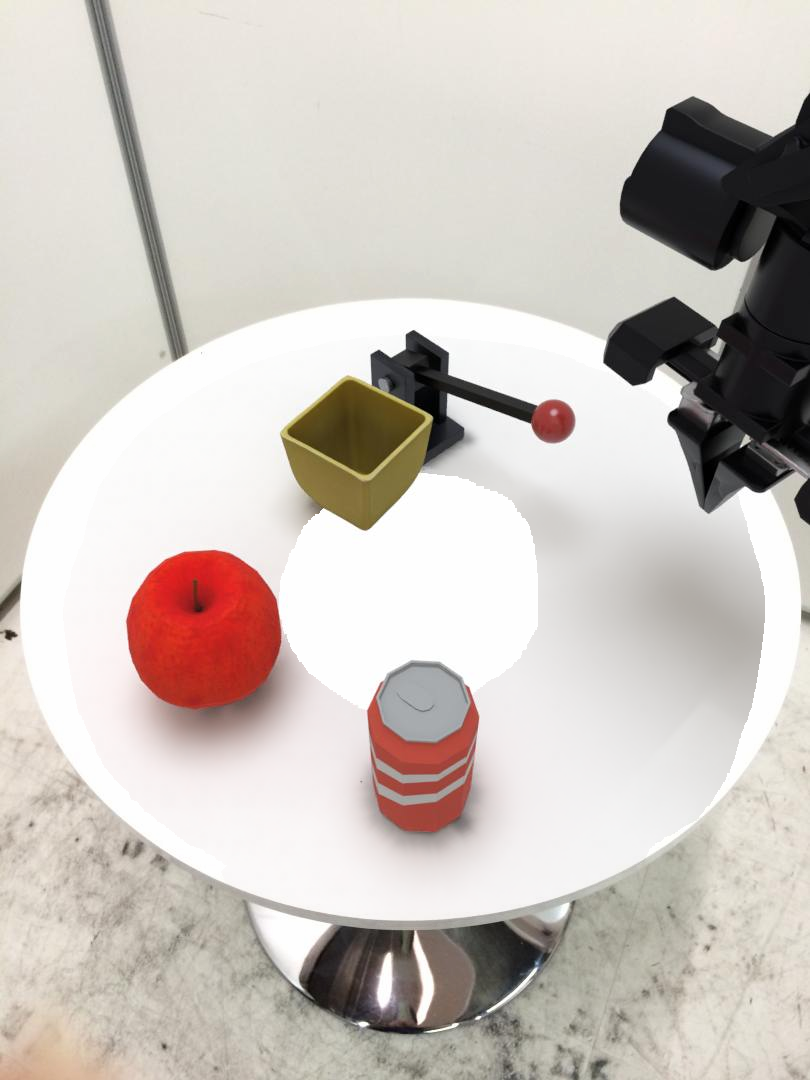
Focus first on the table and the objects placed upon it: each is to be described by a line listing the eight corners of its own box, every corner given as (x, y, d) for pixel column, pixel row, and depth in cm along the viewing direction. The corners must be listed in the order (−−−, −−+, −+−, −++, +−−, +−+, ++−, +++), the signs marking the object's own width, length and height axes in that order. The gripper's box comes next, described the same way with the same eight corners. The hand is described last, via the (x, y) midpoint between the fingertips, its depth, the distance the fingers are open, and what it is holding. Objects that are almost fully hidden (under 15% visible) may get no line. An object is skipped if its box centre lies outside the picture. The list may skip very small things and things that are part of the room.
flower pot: (434, 493, 74) (436, 415, 67) (372, 558, 70) (367, 481, 63) (353, 451, 78) (347, 372, 71) (289, 511, 73) (276, 432, 66)
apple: (186, 771, 58) (142, 677, 49) (130, 665, 63) (82, 562, 54) (315, 699, 62) (298, 598, 52) (252, 604, 67) (227, 497, 58)
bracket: (464, 437, 79) (469, 360, 72) (416, 469, 76) (416, 392, 69) (404, 395, 82) (403, 317, 76) (356, 424, 80) (351, 346, 73)
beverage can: (413, 729, 60) (413, 633, 51) (487, 785, 57) (502, 694, 48) (354, 794, 57) (343, 704, 48) (430, 856, 54) (434, 773, 45)
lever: (586, 435, 64) (583, 398, 62) (557, 456, 62) (553, 418, 61) (416, 374, 77) (409, 341, 75) (389, 391, 75) (381, 358, 73)
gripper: (1062, 350, 42) (907, 545, 55) (761, 179, 51) (686, 379, 64) (929, 443, 38) (794, 631, 50) (627, 239, 47) (575, 441, 59)
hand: (708, 507), depth 56 cm, fingers closed
